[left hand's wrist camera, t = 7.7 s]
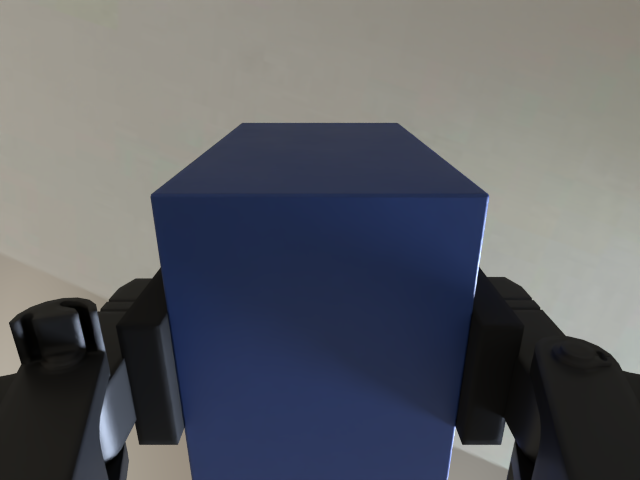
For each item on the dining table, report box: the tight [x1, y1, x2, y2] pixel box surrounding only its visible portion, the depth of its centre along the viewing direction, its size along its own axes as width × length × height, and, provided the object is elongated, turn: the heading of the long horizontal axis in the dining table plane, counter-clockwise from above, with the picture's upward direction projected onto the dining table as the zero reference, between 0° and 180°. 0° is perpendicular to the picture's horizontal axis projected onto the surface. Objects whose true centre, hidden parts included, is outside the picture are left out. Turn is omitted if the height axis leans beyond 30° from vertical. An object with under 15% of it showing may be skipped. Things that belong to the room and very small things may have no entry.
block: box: [151, 123, 489, 480], centre depth 13 cm, size 6×7×9 cm
